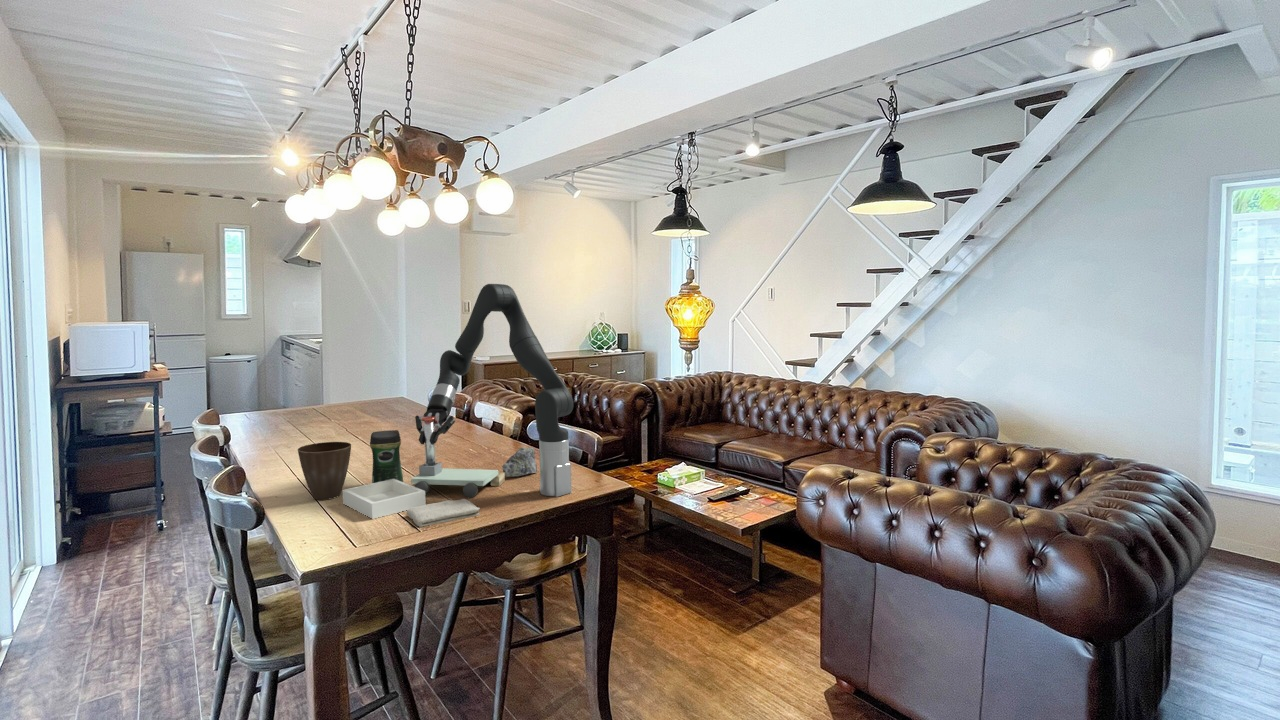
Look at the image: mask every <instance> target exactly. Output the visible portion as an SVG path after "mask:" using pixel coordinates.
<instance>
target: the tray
mask: <svg viewBox="0 0 1280 720" xmlns="http://www.w3.org/2000/svg"><path fill="white" fill-rule="evenodd" d="M343 504H345V505H347V506H349V507H351V508H353V509H355V510H357V511H358V512H357V511H356V512H357V513H359V512H360V513H359V514H361V513H362V514H361V515H363V514H364V515H363V516H365V515H366V516H365V517H367V516H368V517H370V518H372V519H373V520H375V519H374V518H377V519H379V518H378V517H381V518H383V517H382V516H385V517H387V516H386V515H388V516H391V515H390V514H392V515H394V514H393V513H396V514H398V512H400V513H403V512H402V511H404V512H407V511H408V510H409V509H411V508H413V507H418V506H423V505H427V502H426V494H425V491H424V490H421V489H419V488H416V487H415V485H411V484H408V483H406V482H404V481H403V482H401V481H399V480H396V479H390V480H386V481H381V482H377V483H372V482H371V483H369V484H364V485H359V486H356V487H355V486H354V487H349V488H346V489H342V505H343ZM345 505H344V506H345ZM347 506H346V507H347ZM349 507H348V508H349ZM351 508H350V509H351ZM353 509H352V510H353ZM355 510H354V511H355ZM406 510H407V511H406ZM368 517H367V518H368ZM370 518H369V519H370ZM372 519H371V520H372Z"/></svg>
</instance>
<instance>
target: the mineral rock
mask: <svg viewBox="0 0 1280 720" xmlns="http://www.w3.org/2000/svg"><path fill="white" fill-rule="evenodd" d="M501 468H502V473H505V477H523V476H524V475H525V476H526V475H528V474H535V473H538V466H537V463H536V451H535V448H533V447H527V448H526V447H525V446H520V447H519V448H518V449H517V450H516V452H515V453H514V454H513V455H511V456H510V457H509V458H508V459H507V460H506V461H505V463H503V465H502V466H501Z"/></svg>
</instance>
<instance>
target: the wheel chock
mask: <svg viewBox="0 0 1280 720" xmlns="http://www.w3.org/2000/svg"><path fill="white" fill-rule="evenodd" d="M505 478H506V476H505V473H503V472H500V471H498V475H497V476H496V477H495V478H493V479H492V480H491V483H490V486H491V487H500V486H501V484H502V483H503V482H504V483H505V481H506V479H505ZM504 483H503V484H504ZM503 484H502V485H503Z"/></svg>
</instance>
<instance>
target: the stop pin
mask: <svg viewBox="0 0 1280 720" xmlns="http://www.w3.org/2000/svg"><path fill="white" fill-rule="evenodd" d="M421 420H422V421H423V426H424V436H425V443H424V455H425V457H424V458H425V463H426V464H433V463H436V447H435V446H436V443H435V444H434V445H432V444H431V443H430V439H431V436H432V433H433V432H434V428H435V426H434V420H436V417H435V416H426V417H422V418H421Z"/></svg>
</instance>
